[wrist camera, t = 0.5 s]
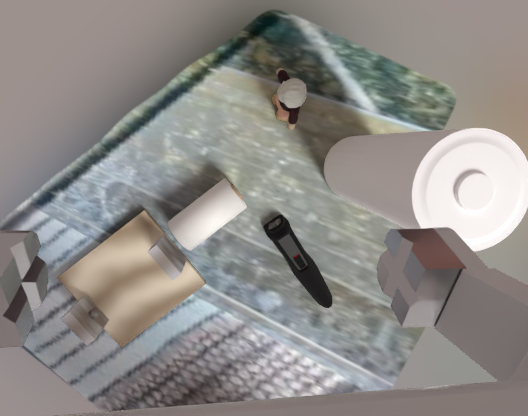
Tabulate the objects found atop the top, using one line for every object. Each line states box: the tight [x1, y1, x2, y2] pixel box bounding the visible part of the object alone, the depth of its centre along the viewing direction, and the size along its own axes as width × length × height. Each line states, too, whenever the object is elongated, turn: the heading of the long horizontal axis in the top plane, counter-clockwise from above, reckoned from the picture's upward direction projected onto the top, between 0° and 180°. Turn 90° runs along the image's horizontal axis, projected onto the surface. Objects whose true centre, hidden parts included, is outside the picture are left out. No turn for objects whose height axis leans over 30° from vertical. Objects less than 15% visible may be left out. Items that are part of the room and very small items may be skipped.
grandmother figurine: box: [272, 68, 307, 130], centre depth 50 cm, size 8×4×13 cm, turn 24°
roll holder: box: [57, 209, 206, 347], centre depth 56 cm, size 14×16×7 cm
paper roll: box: [168, 178, 247, 250], centre depth 56 cm, size 11×5×5 cm, turn 127°
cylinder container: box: [324, 128, 528, 251], centre depth 44 cm, size 9×9×30 cm
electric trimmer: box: [264, 215, 332, 308], centre depth 60 cm, size 4×16×3 cm, turn 33°
